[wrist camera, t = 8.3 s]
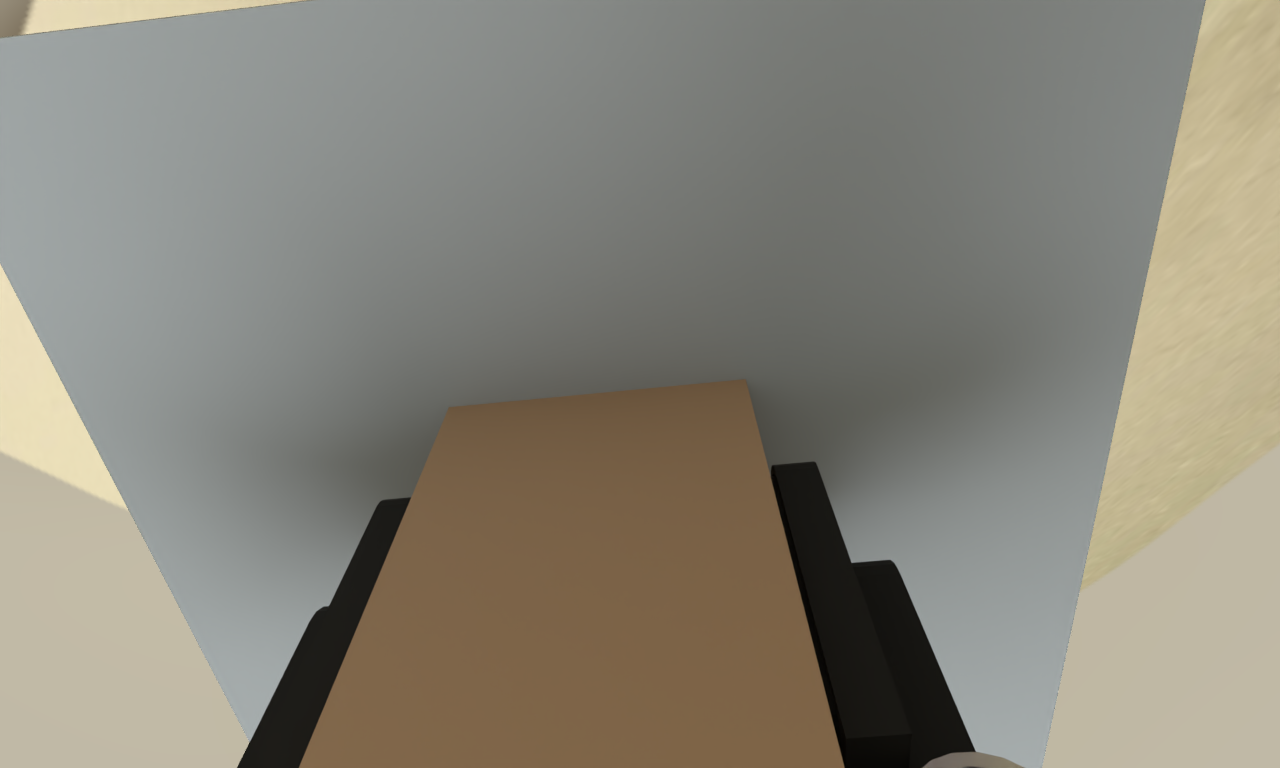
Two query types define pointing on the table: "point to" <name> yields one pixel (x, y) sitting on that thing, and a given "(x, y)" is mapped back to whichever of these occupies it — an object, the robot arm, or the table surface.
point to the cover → (600, 342)
